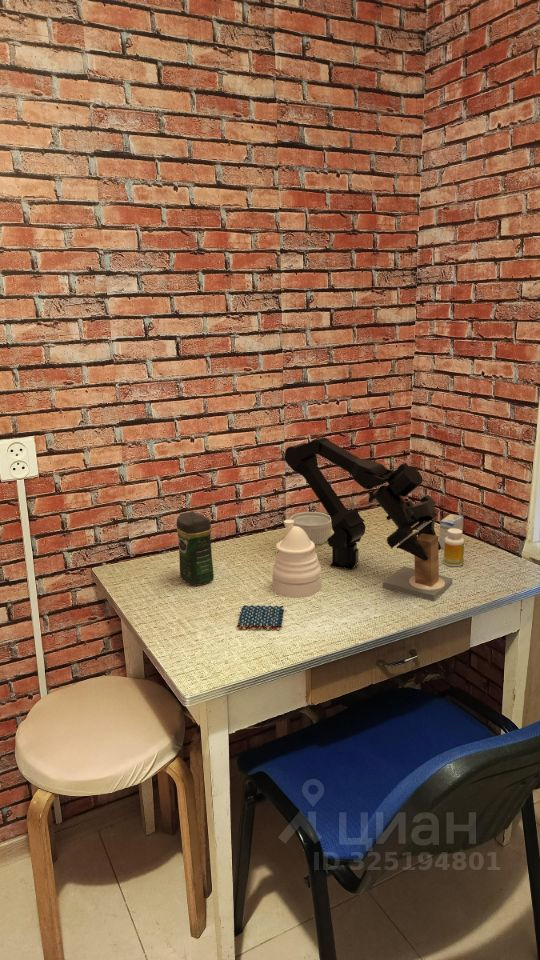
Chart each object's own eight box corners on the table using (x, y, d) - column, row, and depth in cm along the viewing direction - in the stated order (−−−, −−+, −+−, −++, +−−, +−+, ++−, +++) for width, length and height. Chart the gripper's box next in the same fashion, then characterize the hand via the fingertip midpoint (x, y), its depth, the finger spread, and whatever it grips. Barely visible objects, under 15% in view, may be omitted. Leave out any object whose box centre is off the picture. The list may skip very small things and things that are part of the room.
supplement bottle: (463, 567, 178) (465, 534, 175) (443, 566, 179) (445, 533, 176) (462, 559, 183) (464, 527, 180) (442, 558, 184) (444, 526, 182)
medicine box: (448, 540, 198) (449, 513, 196) (462, 542, 196) (463, 515, 193) (438, 548, 192) (439, 520, 190) (452, 551, 189) (454, 523, 187)
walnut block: (415, 582, 166) (413, 539, 163) (422, 576, 169) (421, 533, 166) (431, 586, 163) (430, 541, 160) (438, 579, 166) (438, 535, 163)
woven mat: (241, 611, 158) (241, 603, 158) (284, 611, 157) (284, 604, 157) (235, 632, 148) (235, 624, 148) (281, 633, 147) (281, 625, 147)
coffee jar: (218, 581, 174) (215, 516, 169) (192, 589, 169) (188, 522, 164) (201, 569, 181) (197, 507, 176) (176, 576, 177) (171, 513, 172)
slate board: (382, 587, 168) (382, 581, 167) (403, 571, 177) (403, 565, 176) (433, 601, 159) (433, 594, 159) (452, 583, 169) (452, 577, 168)
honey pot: (265, 593, 166) (263, 528, 161) (282, 573, 177) (280, 511, 172) (313, 600, 162) (313, 533, 157) (327, 579, 173) (327, 516, 168)
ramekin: (310, 528, 211) (310, 508, 209) (341, 538, 201) (341, 517, 200) (281, 539, 202) (280, 518, 200) (311, 550, 193) (311, 528, 191)
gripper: (399, 497, 154) (441, 550, 151) (431, 479, 169) (470, 527, 165) (369, 522, 161) (409, 573, 158) (403, 502, 175) (439, 549, 172)
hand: (433, 554), depth 163 cm, fingers open, 8 cm apart
